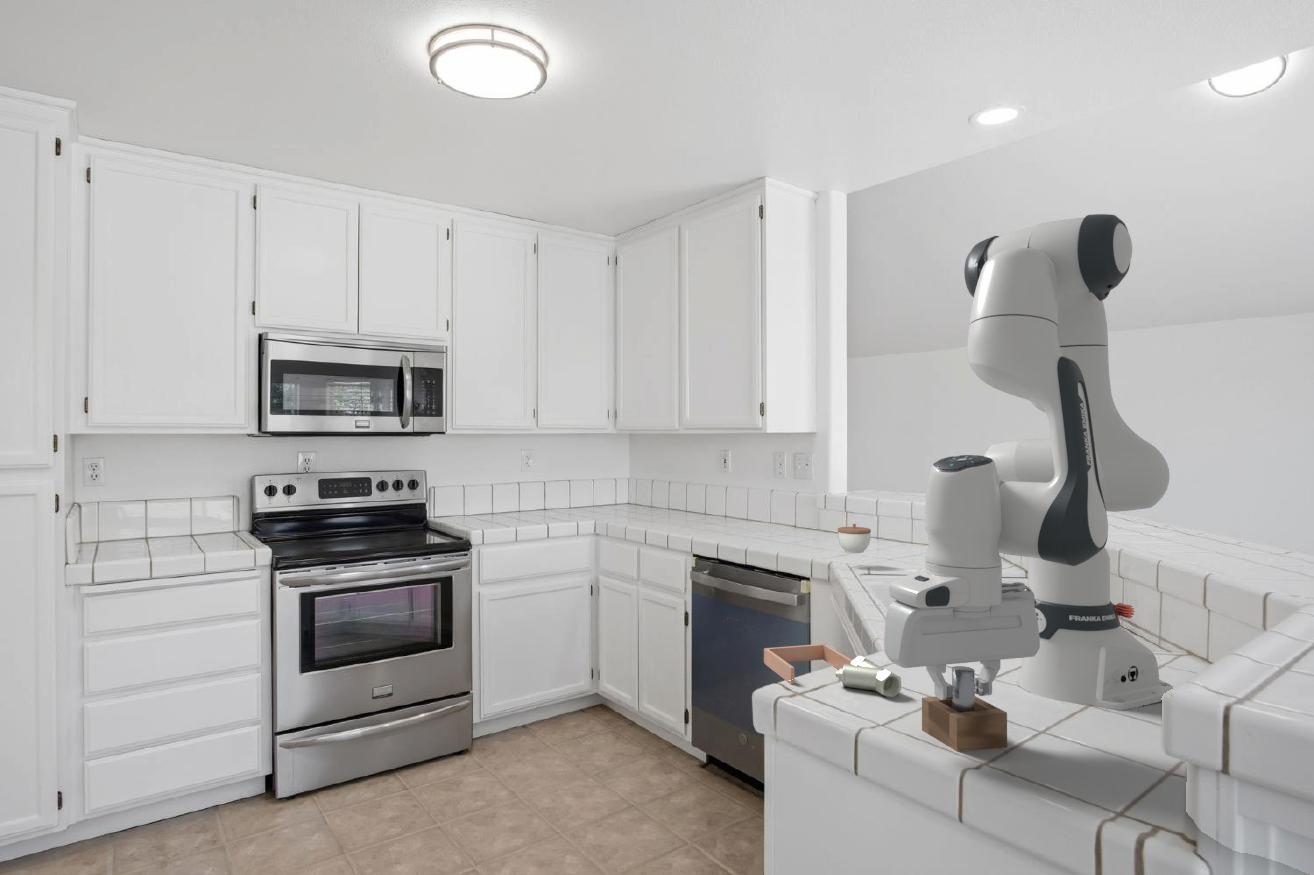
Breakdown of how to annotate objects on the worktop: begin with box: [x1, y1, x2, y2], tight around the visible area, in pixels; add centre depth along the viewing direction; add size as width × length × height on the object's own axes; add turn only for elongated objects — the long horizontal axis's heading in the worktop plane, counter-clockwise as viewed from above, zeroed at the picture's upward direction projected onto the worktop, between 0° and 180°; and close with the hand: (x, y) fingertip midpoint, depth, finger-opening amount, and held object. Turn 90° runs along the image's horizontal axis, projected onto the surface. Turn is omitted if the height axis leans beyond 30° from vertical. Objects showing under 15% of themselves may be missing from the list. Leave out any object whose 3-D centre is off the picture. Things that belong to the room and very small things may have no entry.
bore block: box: [921, 695, 1008, 752], centre depth 90 cm, size 7×7×4 cm
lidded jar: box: [837, 523, 872, 554], centre depth 244 cm, size 11×11×9 cm
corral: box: [763, 643, 854, 685], centre depth 118 cm, size 11×11×2 cm
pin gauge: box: [951, 665, 976, 713], centre depth 90 cm, size 3×3×9 cm
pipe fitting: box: [835, 655, 902, 698], centre depth 109 cm, size 8×4×7 cm
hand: (963, 696), depth 90 cm, fingers open, 4 cm apart
